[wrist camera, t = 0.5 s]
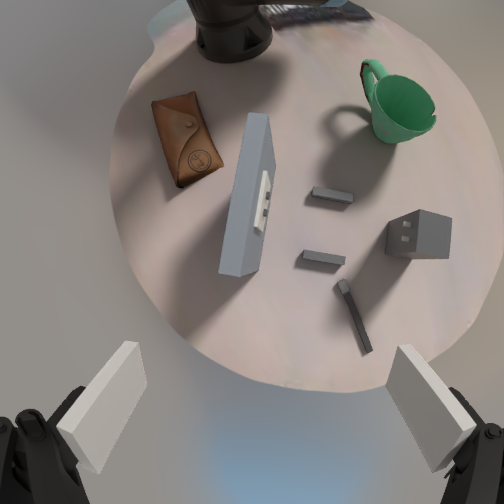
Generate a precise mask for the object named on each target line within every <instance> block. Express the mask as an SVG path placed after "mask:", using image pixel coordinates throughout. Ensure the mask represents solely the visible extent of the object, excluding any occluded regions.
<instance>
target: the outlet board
mask: <svg viewBox="0 0 504 504" xmlns="http://www.w3.org/2000/svg"><path fill="white" fill-rule="evenodd" d="M275 169H276V163H275V156H274V149H273V142H272V135H271V129H270V123H269V116H268V114H264V113H252V112H248V116H247V120H246V125H245V130H244V135H243V140H242V145H241V150H240V155H239V160H238V165H237V170H236V175H235V180H234V186H233V191H232V196H231V202H230V207H229V213H228V218H227V224H226V229H225V235H224V241H223V247H222V253H221V259H220V265H219V271H218V273H220V274H225V275H231V276H236V277H242V276H244V275H247V274H250V273H253V272H255V271H258V270H259V265H260V259H261V253H262V247H263V242H264V236H265V230H266V224H267V218H268V212H269V205H270V199H271V193H272V187H273V181H274V175H275ZM353 196H354V194H352V193H346V192H341V191H336V190H331V189H325V188H319V187H313V191H312V197H316V198H322V199H327V200H333V201H338V202H344V203H349V204H351V203H352V202H353ZM303 258H304V259H310V260H316V261H322V262H328V263H333V264H339V265H344V264H345V258H346V257H344V256H338V255H333V254H327V253H321V252H315V251H309V250H304V252H303Z"/></svg>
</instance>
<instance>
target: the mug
mask: <svg viewBox="0 0 504 504" xmlns="http://www.w3.org/2000/svg"><path fill="white" fill-rule="evenodd" d="M372 72H373V73H374V75H375V77H376V78H377V80H378V82H377V83H376V85H375V83H374V78H373V74H372ZM360 77H361V80H362V84H363V88H364V92H365V96H366V98H367V100H368V103H369V105H370V107H371V116H372V125H373V130H374V133H375V135H376V136H377V138H378V139H380V140H381V141H382V142H385V143H389V144H392V143H400V142H404V141H408V140H411V139H412V138H414V137H417V136H420V135H422V134H424V133H426V132H427V131H429V130H430V129H431V128H432V127H433V126H434V124H435V122H436V115H433V116H431V115H432V114H433V112H434V110H435V105H434V103H433V101H432V99H431V97H430V95H429V94H428V93H427V92H426V91H425V90H424V89H423V87H421V86H420V85H419V84H417V83H416V82H415V81H413V80H411V79H409V78H407V77H404V76H400V75H389V74H388V73H387V71H386V70H385V68H384V67H383V66H382V64H381V63H380V62H379V61H378V60H373V59H366V60H364V61H363V62H362V65H361V71H360Z"/></svg>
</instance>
